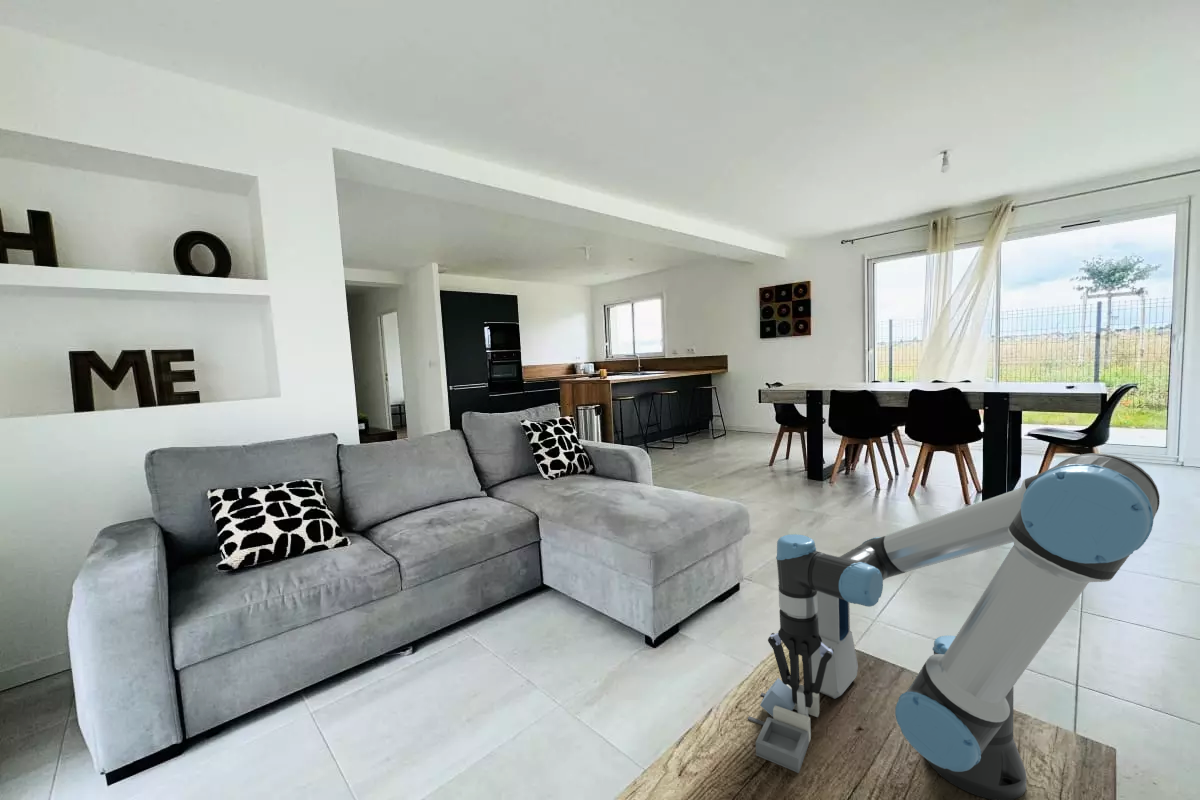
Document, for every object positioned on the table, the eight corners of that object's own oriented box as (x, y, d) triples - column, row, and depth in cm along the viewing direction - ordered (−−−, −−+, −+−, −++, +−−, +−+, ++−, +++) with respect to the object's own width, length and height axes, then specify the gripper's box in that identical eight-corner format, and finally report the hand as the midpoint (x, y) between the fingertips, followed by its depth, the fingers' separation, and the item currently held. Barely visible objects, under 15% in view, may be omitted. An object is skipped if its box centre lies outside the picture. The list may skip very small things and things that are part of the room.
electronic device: (827, 665, 122) (824, 548, 120) (859, 678, 117) (857, 556, 115) (805, 688, 114) (802, 564, 112) (838, 704, 108) (835, 573, 107)
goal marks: (783, 701, 110) (783, 700, 110) (771, 728, 102) (771, 727, 102) (761, 693, 113) (761, 692, 113) (747, 719, 105) (747, 718, 105)
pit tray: (808, 744, 97) (808, 731, 97) (798, 773, 91) (798, 758, 91) (768, 729, 102) (767, 716, 102) (756, 755, 96) (755, 741, 95)
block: (786, 709, 108) (798, 695, 106) (780, 724, 103) (792, 709, 102) (766, 692, 110) (778, 677, 108) (759, 705, 106) (771, 690, 104)
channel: (819, 713, 106) (819, 693, 106) (809, 743, 98) (808, 722, 98) (786, 701, 110) (785, 682, 110) (773, 729, 102) (772, 709, 102)
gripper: (835, 609, 101) (840, 718, 102) (771, 596, 109) (776, 698, 110) (828, 626, 95) (833, 742, 96) (761, 611, 102) (767, 718, 104)
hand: (803, 718), depth 103 cm, fingers closed
